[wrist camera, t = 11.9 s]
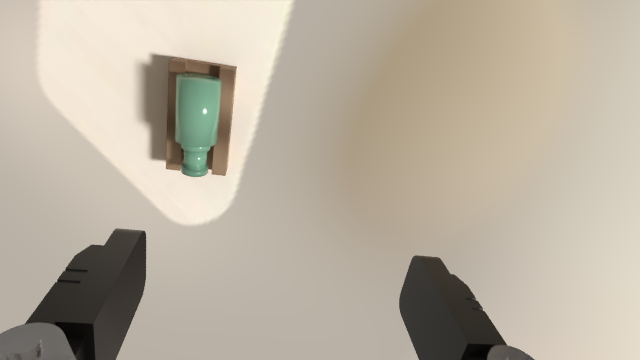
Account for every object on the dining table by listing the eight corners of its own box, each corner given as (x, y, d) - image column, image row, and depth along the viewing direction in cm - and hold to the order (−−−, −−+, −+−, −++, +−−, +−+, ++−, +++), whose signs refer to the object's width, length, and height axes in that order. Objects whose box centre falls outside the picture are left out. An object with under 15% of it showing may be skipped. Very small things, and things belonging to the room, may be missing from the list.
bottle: (180, 71, 39) (173, 79, 35) (223, 77, 39) (220, 86, 36) (177, 161, 42) (170, 177, 39) (216, 165, 43) (213, 181, 40)
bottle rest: (174, 56, 39) (169, 60, 37) (236, 66, 40) (234, 70, 39) (170, 160, 44) (166, 168, 42) (227, 167, 45) (225, 175, 43)
